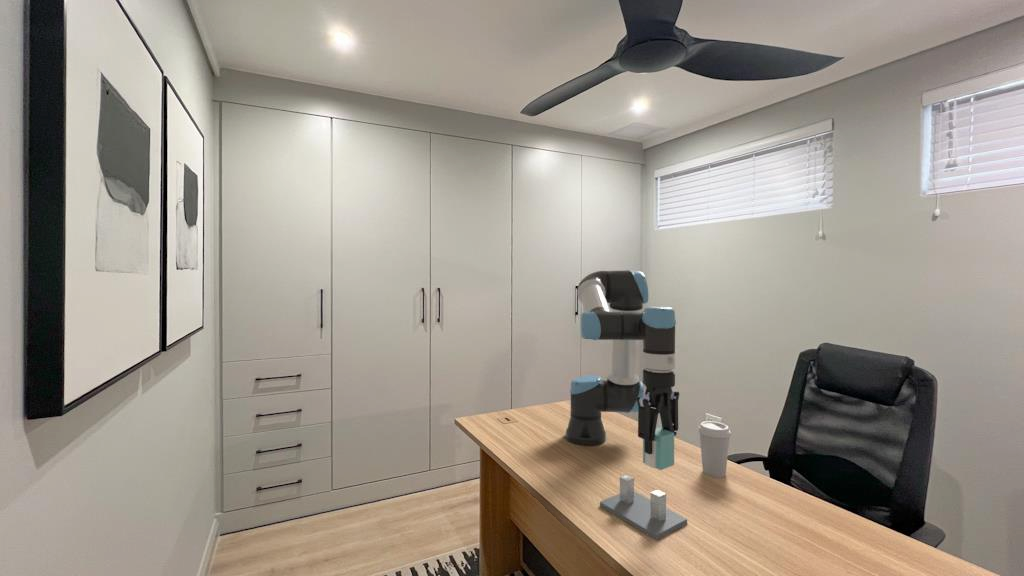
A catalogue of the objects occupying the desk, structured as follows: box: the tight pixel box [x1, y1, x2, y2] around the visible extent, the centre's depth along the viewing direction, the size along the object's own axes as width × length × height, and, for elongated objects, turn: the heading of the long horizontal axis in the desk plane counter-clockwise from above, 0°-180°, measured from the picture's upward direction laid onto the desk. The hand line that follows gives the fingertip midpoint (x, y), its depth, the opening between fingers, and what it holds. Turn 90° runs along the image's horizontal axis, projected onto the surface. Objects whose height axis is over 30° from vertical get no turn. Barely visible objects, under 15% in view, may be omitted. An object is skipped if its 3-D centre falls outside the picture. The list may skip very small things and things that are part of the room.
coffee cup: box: [697, 420, 732, 478], centre depth 133 cm, size 10×10×15 cm
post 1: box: [619, 474, 635, 505], centre depth 114 cm, size 3×3×6 cm
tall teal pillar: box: [642, 426, 675, 471], centre depth 105 cm, size 5×5×8 cm
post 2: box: [650, 489, 667, 523], centre depth 105 cm, size 3×3×6 cm
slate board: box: [599, 491, 688, 541], centre depth 110 cm, size 18×12×1 cm, turn 34°
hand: (658, 462), depth 105 cm, fingers closed on tall teal pillar, 5 cm apart
